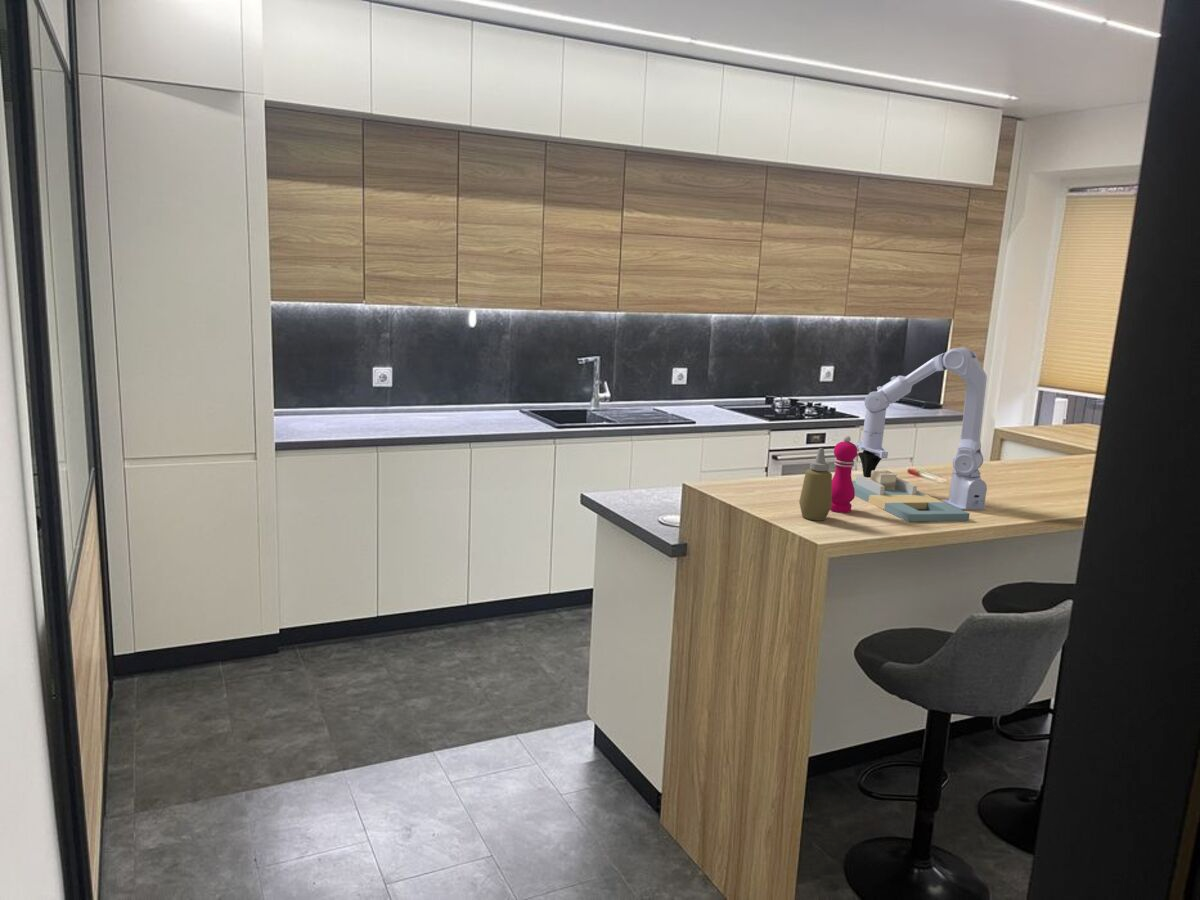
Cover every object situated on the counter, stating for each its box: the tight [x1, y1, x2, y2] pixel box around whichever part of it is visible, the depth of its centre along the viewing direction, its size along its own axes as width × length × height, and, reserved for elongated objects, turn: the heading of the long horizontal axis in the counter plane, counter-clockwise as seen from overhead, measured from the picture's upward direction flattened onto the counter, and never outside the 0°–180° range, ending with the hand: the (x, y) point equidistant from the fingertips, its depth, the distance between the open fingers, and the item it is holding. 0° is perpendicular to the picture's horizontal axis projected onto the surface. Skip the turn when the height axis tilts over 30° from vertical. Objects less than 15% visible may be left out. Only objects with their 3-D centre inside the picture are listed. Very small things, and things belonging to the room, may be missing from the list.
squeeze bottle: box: [798, 447, 833, 521], centre depth 219 cm, size 8×8×18 cm
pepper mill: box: [830, 435, 858, 514], centre depth 229 cm, size 7×7×20 cm
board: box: [852, 474, 970, 522], centre depth 241 cm, size 35×18×4 cm, turn 14°
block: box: [870, 469, 898, 490], centre depth 249 cm, size 5×5×4 cm
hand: (867, 477), depth 257 cm, fingers closed
